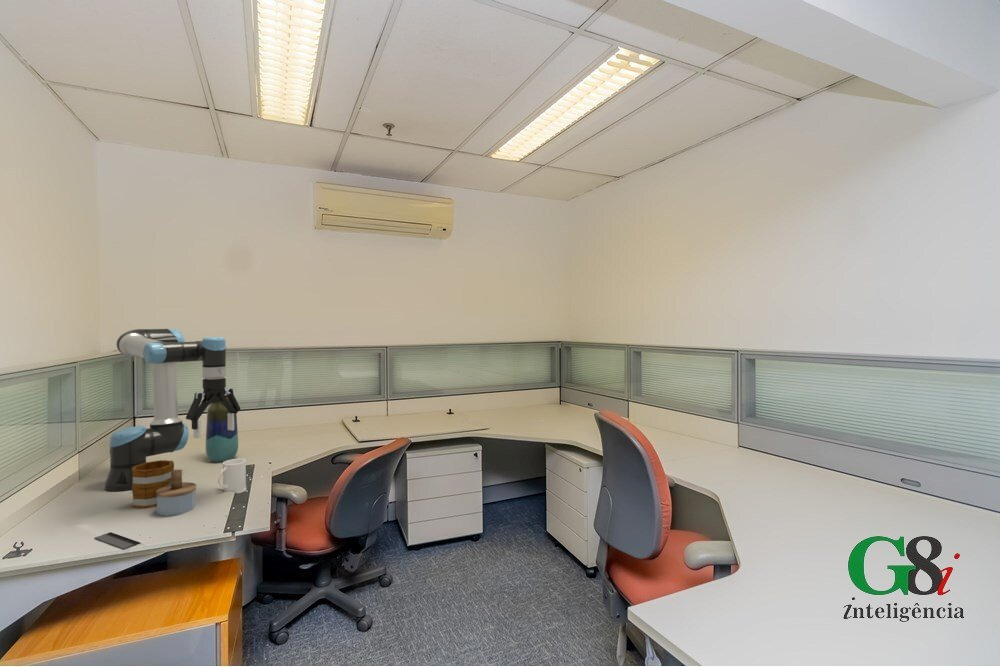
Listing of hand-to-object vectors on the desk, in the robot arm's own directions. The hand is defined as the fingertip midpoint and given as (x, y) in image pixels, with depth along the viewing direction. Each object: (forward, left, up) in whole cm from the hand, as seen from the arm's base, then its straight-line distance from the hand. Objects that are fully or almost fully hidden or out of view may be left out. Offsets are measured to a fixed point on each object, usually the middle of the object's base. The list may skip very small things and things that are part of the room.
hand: (214, 433), depth 178 cm
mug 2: (-3, +9, -26) cm, 28 cm away
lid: (-1, -13, -18) cm, 22 cm away
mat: (+4, -29, -26) cm, 39 cm away
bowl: (-1, -13, -26) cm, 29 cm away
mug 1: (-18, -10, -26) cm, 33 cm away
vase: (-47, +36, -26) cm, 65 cm away
